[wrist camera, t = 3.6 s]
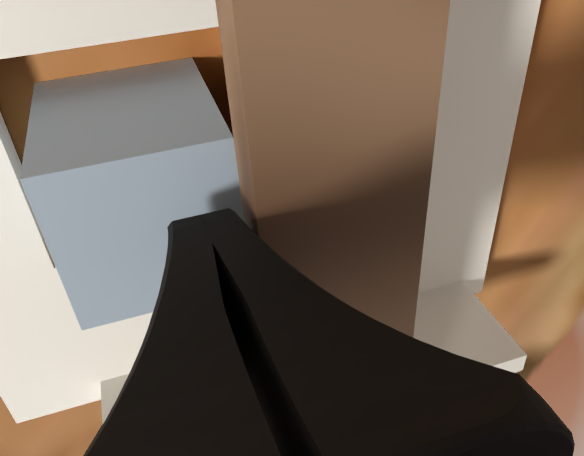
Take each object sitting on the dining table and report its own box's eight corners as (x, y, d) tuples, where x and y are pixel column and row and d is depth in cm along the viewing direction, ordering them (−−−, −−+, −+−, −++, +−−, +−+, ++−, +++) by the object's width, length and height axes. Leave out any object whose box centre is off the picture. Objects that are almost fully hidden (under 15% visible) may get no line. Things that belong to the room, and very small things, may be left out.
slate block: (212, 183, 17) (252, 286, 13) (79, 212, 16) (81, 330, 13) (191, 57, 15) (233, 137, 11) (34, 82, 14) (20, 179, 10)
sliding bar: (379, 423, 18) (399, 462, 17) (275, 457, 17) (288, 500, 16) (431, -362, 7) (493, -395, 6) (168, -363, 7) (186, -400, 6)
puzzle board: (468, 275, 23) (546, 364, 20) (19, 399, 20) (5, 540, 16) (574, -312, 13) (792, -374, 9) (-373, -293, 9) (-719, -387, 5)
